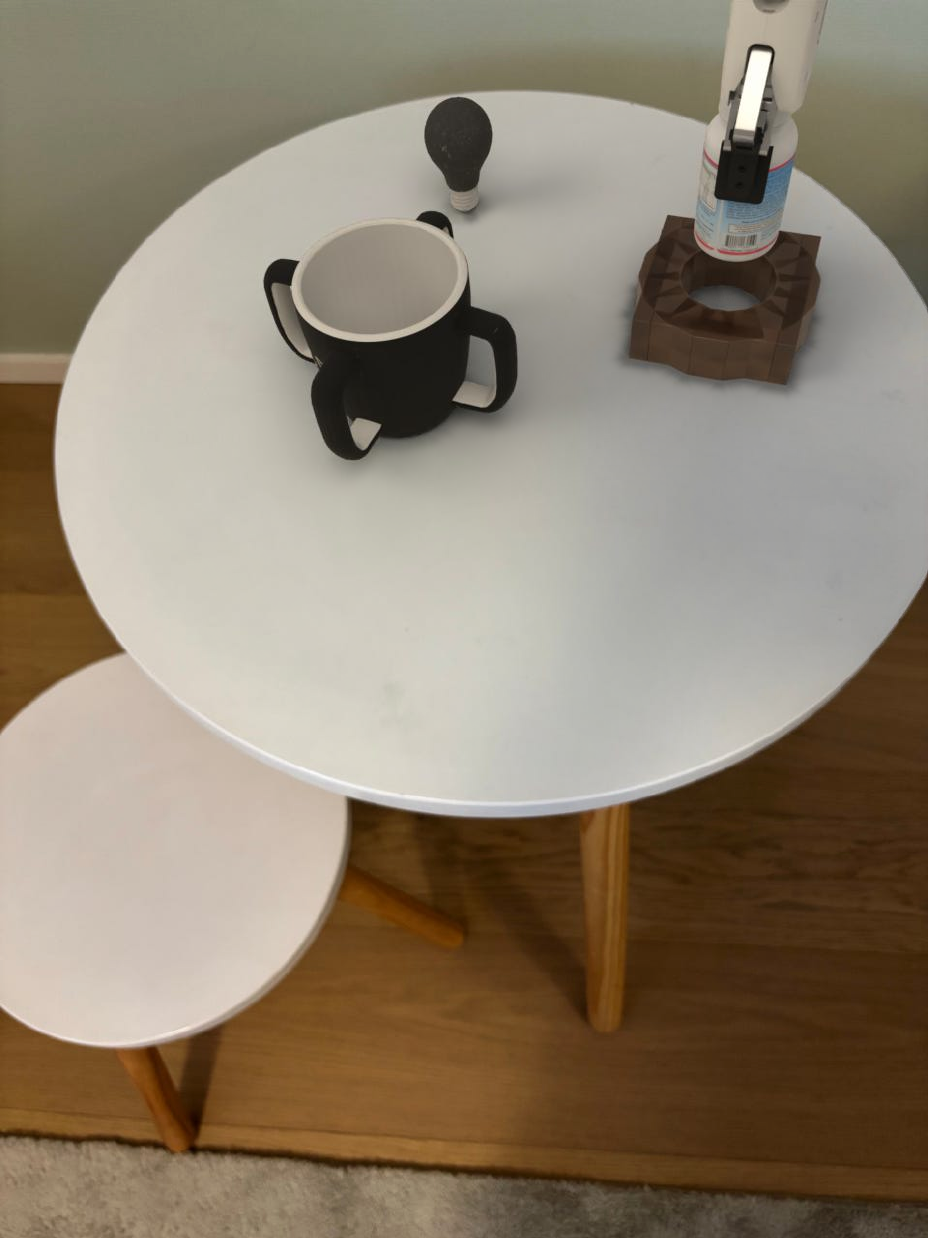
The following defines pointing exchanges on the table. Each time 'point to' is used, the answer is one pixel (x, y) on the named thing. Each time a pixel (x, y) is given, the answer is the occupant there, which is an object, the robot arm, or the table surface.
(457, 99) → the light bulb
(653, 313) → the hole plate
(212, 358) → the table surface
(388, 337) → the mug
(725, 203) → the pill bottle
